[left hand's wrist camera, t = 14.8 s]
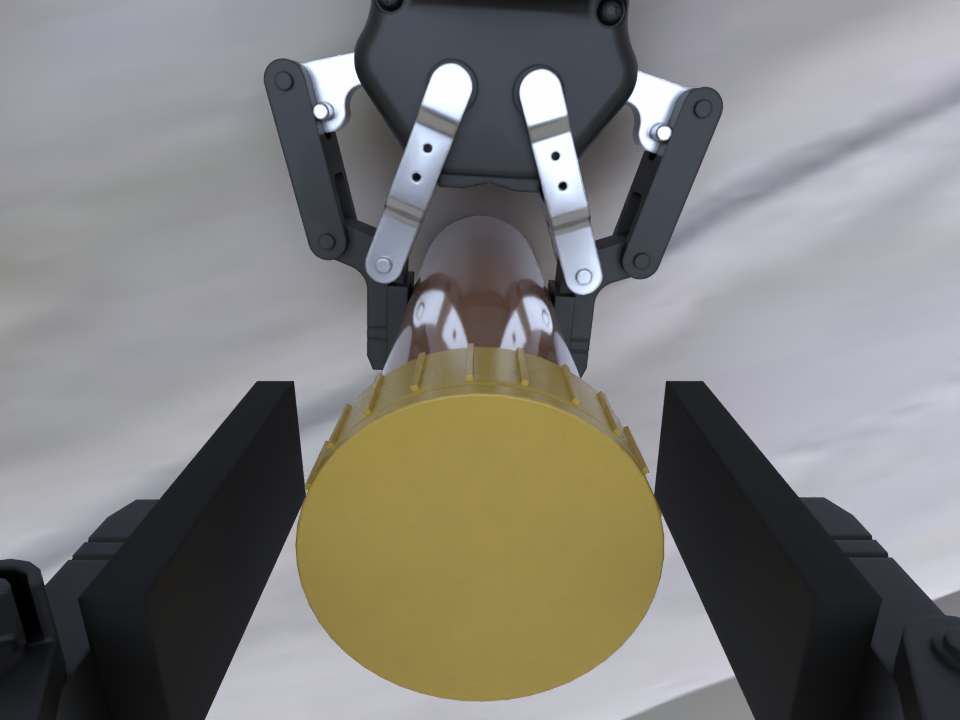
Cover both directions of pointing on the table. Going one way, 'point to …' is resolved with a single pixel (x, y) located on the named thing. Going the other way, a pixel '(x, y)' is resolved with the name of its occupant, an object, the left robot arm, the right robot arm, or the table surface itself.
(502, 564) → the lid
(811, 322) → the table surface
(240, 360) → the table surface
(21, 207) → the table surface
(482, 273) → the pinkish brown bottle
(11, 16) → the table surface
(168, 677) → the left robot arm
